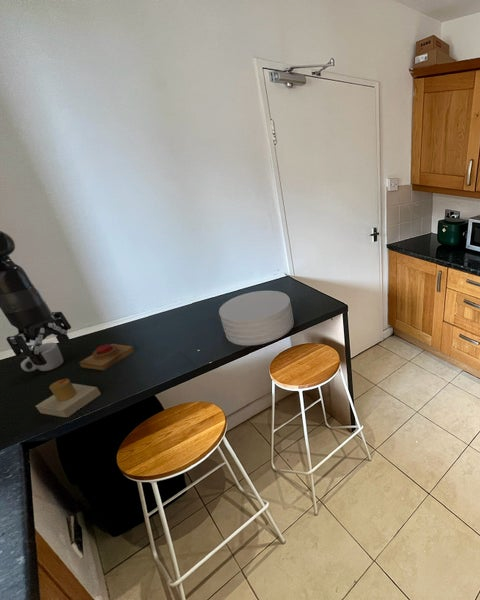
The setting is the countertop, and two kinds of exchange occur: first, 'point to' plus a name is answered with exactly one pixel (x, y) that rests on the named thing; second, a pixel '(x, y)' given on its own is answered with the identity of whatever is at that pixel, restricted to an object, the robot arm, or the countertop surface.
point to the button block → (107, 357)
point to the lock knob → (63, 389)
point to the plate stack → (257, 317)
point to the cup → (46, 358)
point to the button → (104, 349)
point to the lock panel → (69, 402)
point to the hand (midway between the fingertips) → (54, 355)
